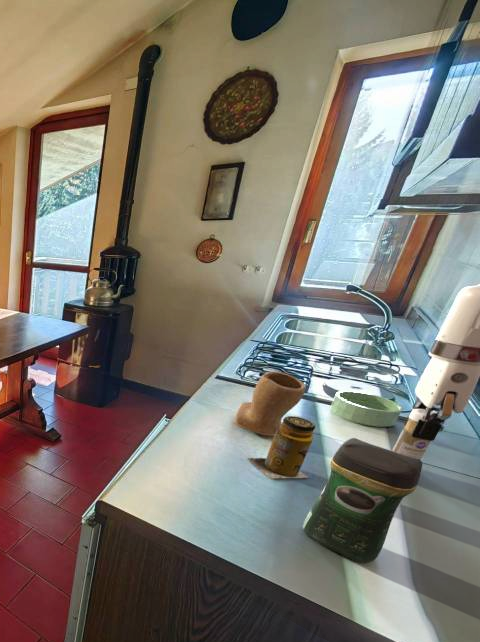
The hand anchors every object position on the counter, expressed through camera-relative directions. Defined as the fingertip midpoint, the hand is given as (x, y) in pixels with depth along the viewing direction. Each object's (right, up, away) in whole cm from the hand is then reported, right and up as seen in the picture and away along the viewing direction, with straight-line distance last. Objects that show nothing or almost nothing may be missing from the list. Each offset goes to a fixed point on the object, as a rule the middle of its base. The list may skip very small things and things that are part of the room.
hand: (418, 432), depth 83 cm
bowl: (+14, +1, +26) cm, 29 cm away
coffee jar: (-33, -17, -16) cm, 40 cm away
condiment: (-28, -9, +3) cm, 29 cm away
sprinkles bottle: (0, -8, +4) cm, 9 cm away
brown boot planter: (-18, -1, +21) cm, 27 cm away
